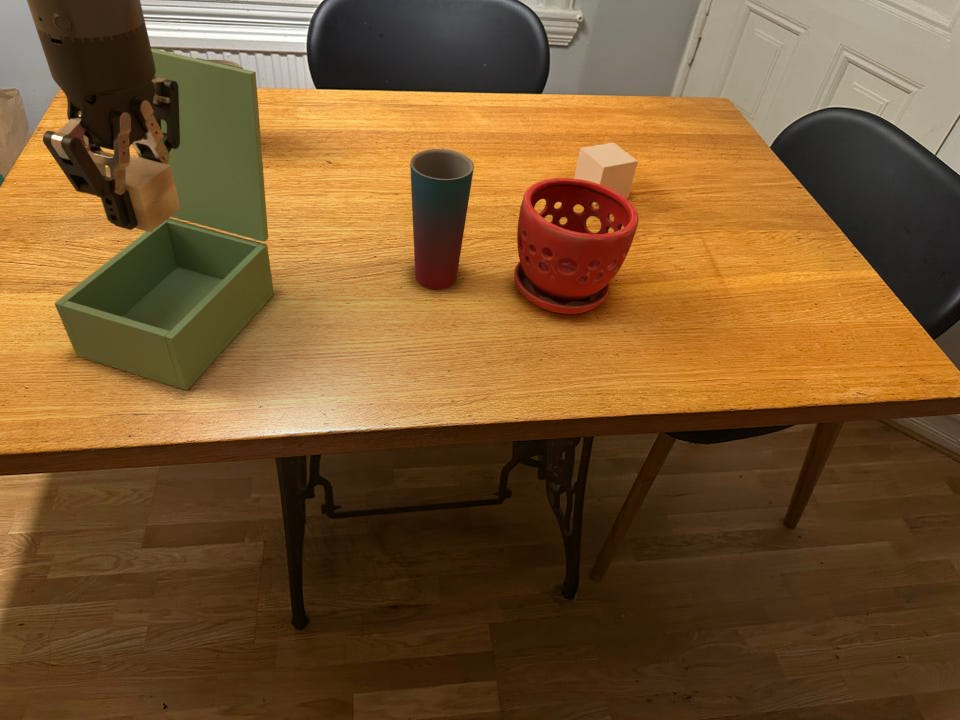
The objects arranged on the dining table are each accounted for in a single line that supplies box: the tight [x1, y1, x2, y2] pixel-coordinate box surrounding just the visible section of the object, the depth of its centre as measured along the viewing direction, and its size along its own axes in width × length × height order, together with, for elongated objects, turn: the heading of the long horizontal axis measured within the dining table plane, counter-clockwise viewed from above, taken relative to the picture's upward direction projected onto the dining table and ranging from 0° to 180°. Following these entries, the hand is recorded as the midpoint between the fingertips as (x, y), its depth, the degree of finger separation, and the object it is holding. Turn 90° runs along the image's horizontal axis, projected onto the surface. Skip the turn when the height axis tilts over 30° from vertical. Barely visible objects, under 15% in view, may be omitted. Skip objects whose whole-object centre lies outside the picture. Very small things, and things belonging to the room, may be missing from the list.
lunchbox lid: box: [151, 47, 269, 243], centre depth 72 cm, size 17×13×5 cm
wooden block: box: [99, 154, 180, 232], centre depth 63 cm, size 4×4×4 cm
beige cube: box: [573, 142, 639, 206], centre depth 101 cm, size 6×6×6 cm
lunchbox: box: [54, 217, 275, 391], centre depth 72 cm, size 17×13×7 cm
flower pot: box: [513, 177, 640, 315], centre depth 81 cm, size 13×13×12 cm
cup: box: [409, 148, 475, 290], centre depth 79 cm, size 7×7×15 cm
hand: (143, 211), depth 64 cm, fingers closed on wooden block, 4 cm apart
